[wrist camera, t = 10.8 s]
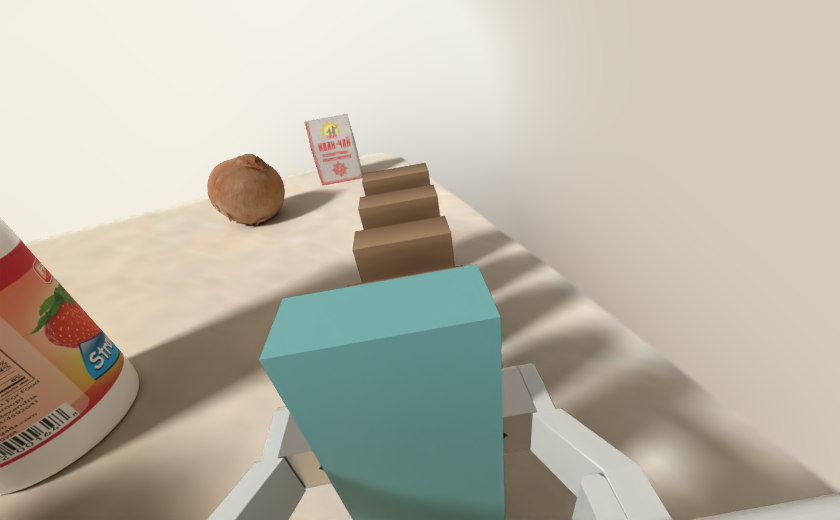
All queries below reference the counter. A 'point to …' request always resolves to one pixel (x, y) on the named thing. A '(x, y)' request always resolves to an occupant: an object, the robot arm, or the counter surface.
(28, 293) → the fruit juice
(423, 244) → the domino
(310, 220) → the counter surface
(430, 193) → the domino
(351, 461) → the teal domino tile
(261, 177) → the onion
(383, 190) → the domino
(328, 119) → the tea bag
